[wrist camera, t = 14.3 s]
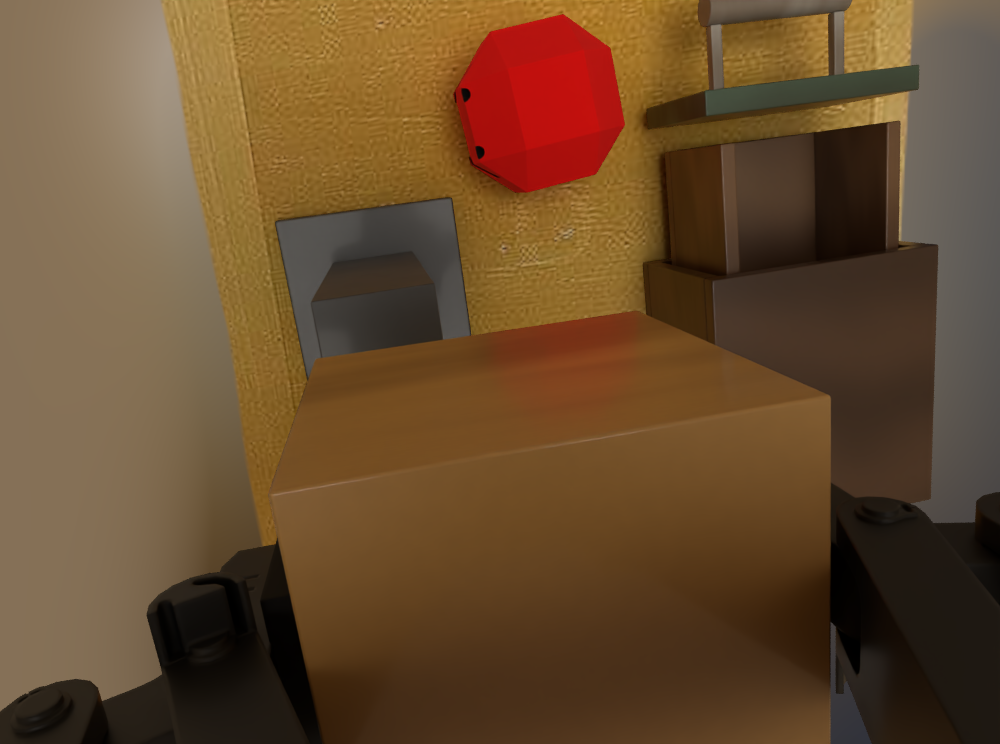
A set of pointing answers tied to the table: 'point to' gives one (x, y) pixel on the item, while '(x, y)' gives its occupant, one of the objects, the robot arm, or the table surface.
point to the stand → (374, 278)
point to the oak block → (560, 541)
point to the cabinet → (832, 349)
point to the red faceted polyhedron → (540, 104)
